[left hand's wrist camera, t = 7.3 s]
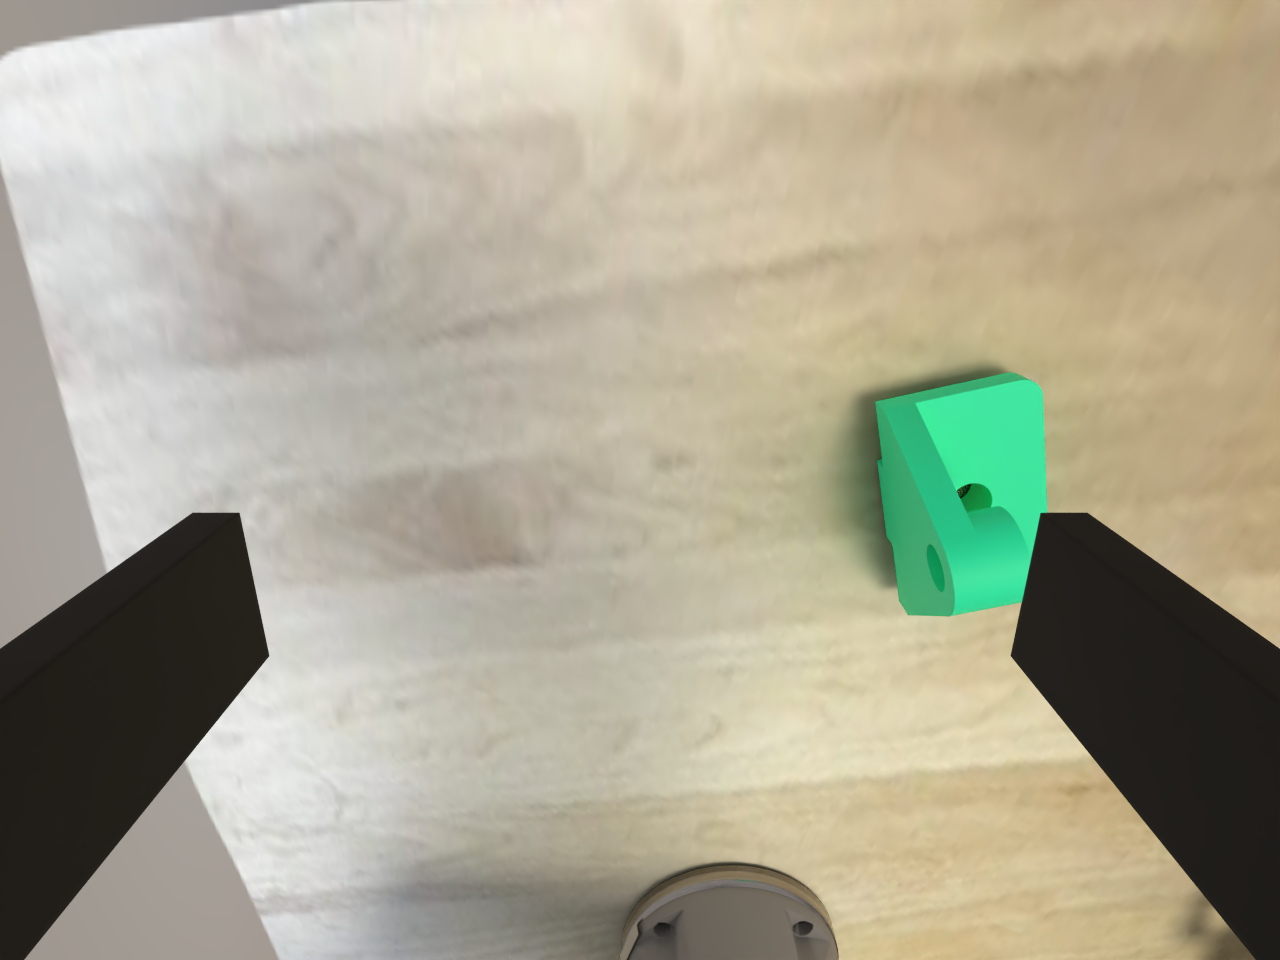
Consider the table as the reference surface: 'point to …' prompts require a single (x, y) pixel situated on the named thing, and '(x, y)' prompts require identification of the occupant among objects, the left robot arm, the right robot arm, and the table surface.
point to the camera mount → (990, 511)
